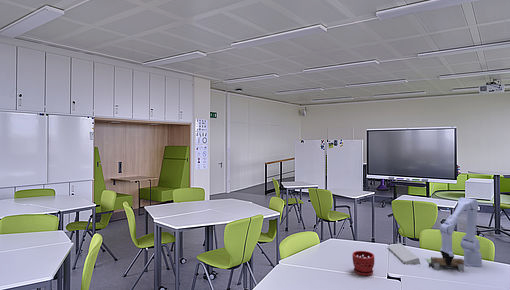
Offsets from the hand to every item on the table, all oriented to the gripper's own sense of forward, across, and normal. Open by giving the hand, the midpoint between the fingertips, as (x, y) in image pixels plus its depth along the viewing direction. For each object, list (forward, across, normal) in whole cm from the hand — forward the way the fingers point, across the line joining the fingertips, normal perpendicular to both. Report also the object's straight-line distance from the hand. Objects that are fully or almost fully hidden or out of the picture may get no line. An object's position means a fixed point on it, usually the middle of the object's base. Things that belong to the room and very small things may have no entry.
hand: (447, 264), depth 206 cm
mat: (+3, -13, +2) cm, 14 cm away
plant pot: (+3, +16, -53) cm, 55 cm away
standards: (+3, 0, 0) cm, 3 cm away
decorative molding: (+4, -22, -22) cm, 31 cm away
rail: (0, 0, 0) cm, 0 cm away
